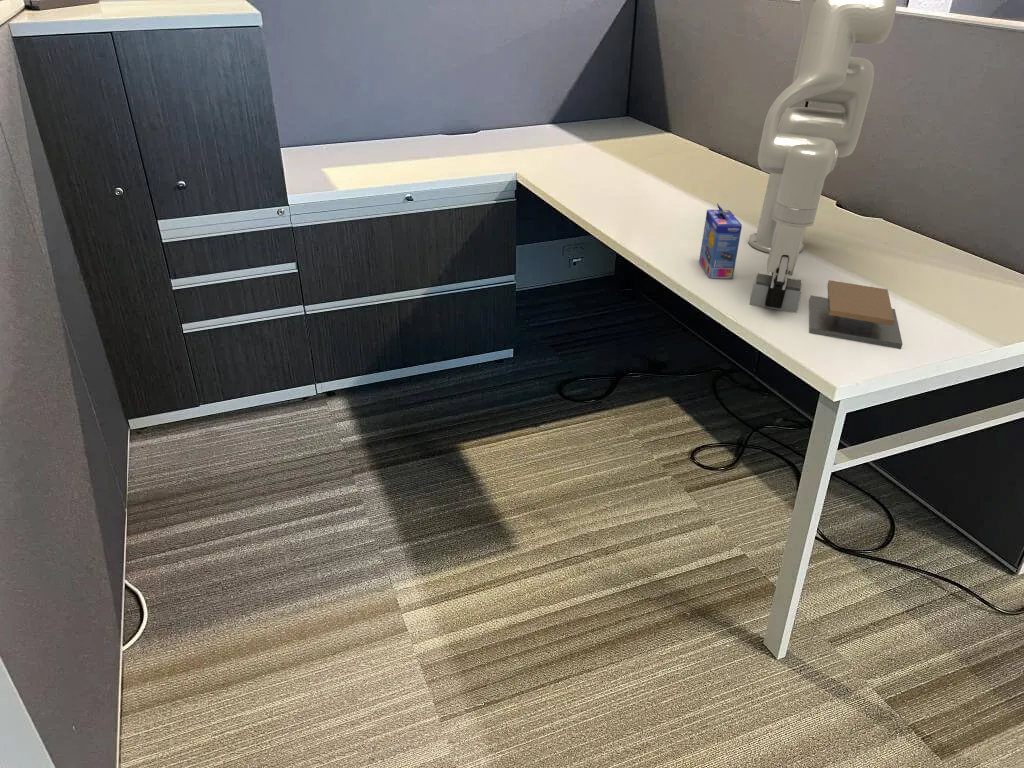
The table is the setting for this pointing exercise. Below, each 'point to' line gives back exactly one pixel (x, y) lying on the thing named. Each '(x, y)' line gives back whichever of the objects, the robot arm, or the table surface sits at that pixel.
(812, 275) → the table surface
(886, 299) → the cardboard on grey plate
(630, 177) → the table surface
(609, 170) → the table surface
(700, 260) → the ink cartridge box
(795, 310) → the block
